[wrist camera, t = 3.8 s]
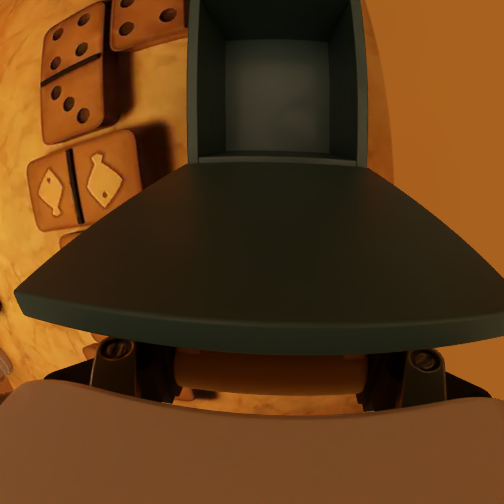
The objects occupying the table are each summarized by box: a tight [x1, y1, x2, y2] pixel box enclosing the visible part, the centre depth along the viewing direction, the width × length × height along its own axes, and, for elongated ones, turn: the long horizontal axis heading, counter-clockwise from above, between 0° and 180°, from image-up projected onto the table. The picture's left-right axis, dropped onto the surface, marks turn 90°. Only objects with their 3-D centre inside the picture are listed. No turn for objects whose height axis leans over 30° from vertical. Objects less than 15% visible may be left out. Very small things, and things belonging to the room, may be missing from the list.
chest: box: [187, 0, 368, 168], centre depth 21 cm, size 15×13×12 cm
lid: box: [14, 162, 504, 396], centre depth 12 cm, size 15×13×5 cm
